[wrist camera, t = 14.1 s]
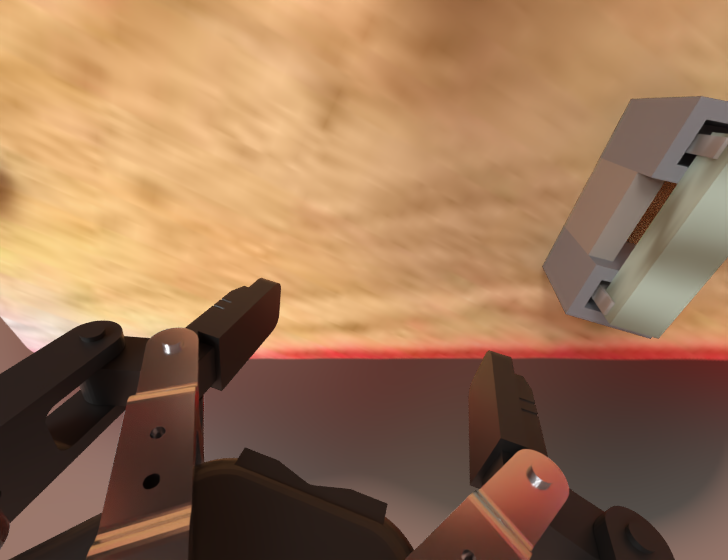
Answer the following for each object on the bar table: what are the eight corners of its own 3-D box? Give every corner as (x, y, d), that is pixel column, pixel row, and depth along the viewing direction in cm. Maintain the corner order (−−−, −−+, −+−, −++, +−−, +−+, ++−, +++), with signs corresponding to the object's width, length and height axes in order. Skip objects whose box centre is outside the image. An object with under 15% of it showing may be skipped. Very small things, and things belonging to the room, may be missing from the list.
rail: (681, 128, 23) (742, 134, 18) (743, 141, 23) (823, 151, 18) (582, 286, 30) (606, 323, 25) (627, 299, 30) (661, 339, 25)
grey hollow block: (631, 98, 29) (701, 96, 20) (718, 116, 28) (830, 121, 19) (542, 266, 37) (565, 314, 29) (606, 284, 36) (650, 338, 28)
